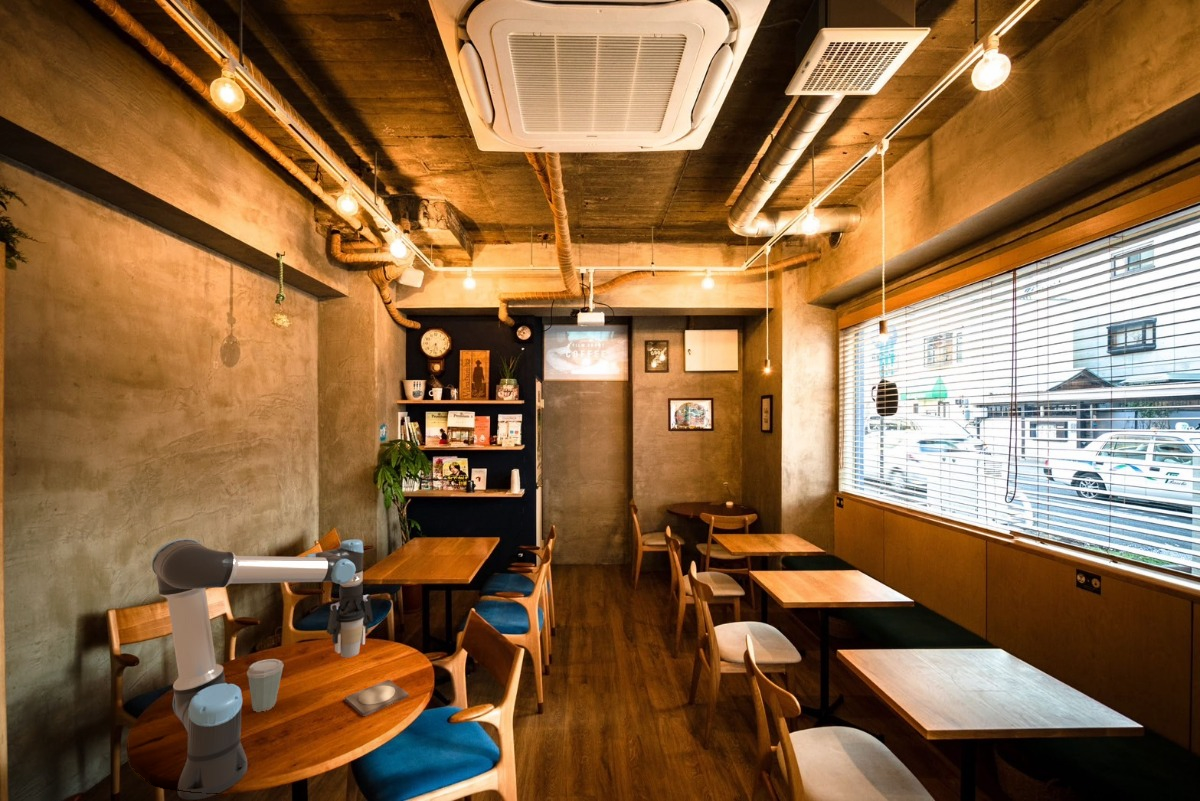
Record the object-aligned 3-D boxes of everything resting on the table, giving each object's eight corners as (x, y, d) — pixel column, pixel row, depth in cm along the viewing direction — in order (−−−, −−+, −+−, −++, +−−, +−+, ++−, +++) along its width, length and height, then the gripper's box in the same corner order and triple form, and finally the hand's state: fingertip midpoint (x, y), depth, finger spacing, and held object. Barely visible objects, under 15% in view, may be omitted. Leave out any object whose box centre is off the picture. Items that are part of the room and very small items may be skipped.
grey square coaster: (363, 717, 166) (363, 712, 166) (344, 700, 176) (344, 696, 176) (408, 697, 178) (408, 692, 178) (388, 682, 188) (388, 678, 188)
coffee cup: (353, 661, 174) (353, 617, 174) (329, 659, 175) (329, 615, 176) (370, 648, 183) (370, 607, 183) (346, 646, 184) (347, 606, 185)
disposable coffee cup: (273, 695, 179) (274, 653, 180) (289, 704, 173) (290, 660, 174) (239, 710, 170) (241, 665, 171) (255, 720, 164) (256, 673, 165)
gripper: (325, 593, 170) (323, 661, 169) (384, 578, 186) (383, 640, 185) (316, 589, 174) (314, 655, 173) (374, 574, 190) (373, 635, 189)
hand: (350, 647), depth 179 cm, fingers closed on coffee cup, 8 cm apart
